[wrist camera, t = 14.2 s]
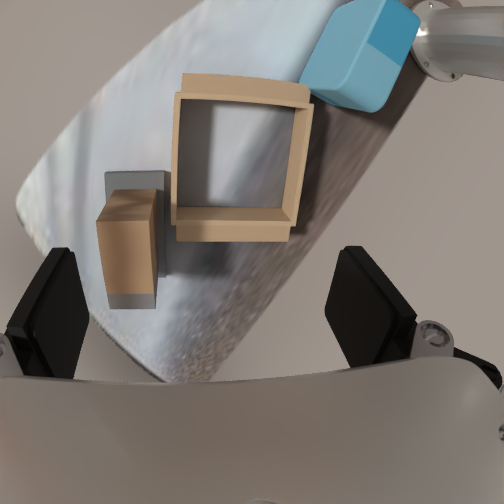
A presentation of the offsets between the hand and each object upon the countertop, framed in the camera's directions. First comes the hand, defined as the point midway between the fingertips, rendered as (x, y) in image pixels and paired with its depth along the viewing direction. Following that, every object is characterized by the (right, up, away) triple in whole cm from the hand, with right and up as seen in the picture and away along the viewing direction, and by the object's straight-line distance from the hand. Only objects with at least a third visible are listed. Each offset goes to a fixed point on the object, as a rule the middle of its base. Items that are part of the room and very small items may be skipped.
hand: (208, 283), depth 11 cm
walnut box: (-12, +4, +26) cm, 29 cm away
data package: (+11, +24, +21) cm, 34 cm away
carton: (0, +12, +25) cm, 28 cm away
